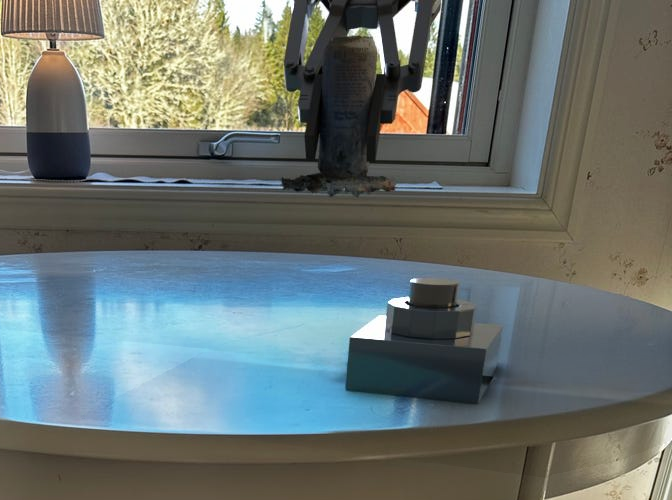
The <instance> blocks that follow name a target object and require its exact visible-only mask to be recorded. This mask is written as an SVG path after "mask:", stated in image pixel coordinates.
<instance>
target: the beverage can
mask: <svg viewBox="0 0 672 500" xmlns="http://www.w3.org/2000/svg"><path fill="white" fill-rule="evenodd" d="M323 60H324V61H323V79H322V98H321V115H320V116H321V117H320V134H319V140H318V156H317V157H318V158H317V169H318V171H319V172H315V173H312V174H311V173H310V174H306V175H302V174H301V175H299V176H296V177H294V178H293V179H291V178H287V177H286V178H284V176H283V177H282V176H281V177H280V182H281V183H280V184H279V185H280V186H282V190H283V191H286V190H287V191H290V190H293V191H294V192H297V193H299V192H304V191H305V190H307V191H308V192H311V193H312V194H314V193H315V194H317V193H318V192H320V191H321V192H323V191H324V192H326V191H327V195H328V197H329V198H333V196H337V195H338V194H340V193H342V192H343V191H344V193H345V194H346V193H348V192H349V193H351V194H352V197H356V198H358V197H360V195H363V194H365V193H366V194H367V195H370V194H372V193H373V192H379V191H381V190H382V191H385V192H388V193H389V192H395V191H396V185H397V182H396V178H395V177H394V178H390V177H387V176H385V175H379V176H378V175H375V176H374V175H367V174H368V172H369V167H370V162H366V161H367V131H368V125H369V119H370V112H371V106H372V99H373V93H374V86H375V80H376V74H377V65H378V63H377V62H378V48H377V45H376V42H375V40H374V36H367V35H363V36H362V35H361V34H357V35H355V34H352V35H347V36H341V37H338V36H336V37H333V38H332V37H331V39H330V40H329V42H328V44H327V46H326V48H325V50H324V59H323Z"/></svg>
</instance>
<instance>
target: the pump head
mask: <svg viewBox="0 0 672 500" xmlns="http://www.w3.org/2000/svg"><path fill="white" fill-rule="evenodd" d="M459 287H460V281H458V280H454V279H449V278H440V277H417V278H413V279H412V278H411V280H410V282H409V289H408V291H409V292H408V297H409V299H408V306H414V307H419V308H433V309H441V308H455V307H456V304H457V300H458V295H459Z"/></svg>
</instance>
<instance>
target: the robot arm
mask: <svg viewBox="0 0 672 500" xmlns="http://www.w3.org/2000/svg"><path fill="white" fill-rule="evenodd" d="M411 2H412V3H413V11H414V12H415V13H416V15H415V21H414V26H413V33H412V37H411V38H412V39H411V43H410V51H409V56H408V57H409V58H408V63H407V64H405V65H402V63H401V61H402V60H401V59H400V57H399V51H398V50H399V49H398V43H397V35H396V28H395V23H394V18H395V16H397V14H399V13H400V12H401V11H402V10H403V9H404V8H405V7H406V6H408V4H410V3H411ZM319 3H321V5H322V6H323V7H324V8H325V10H326V11H327V13H328V14H327V17H326V19H325V21H324V23H323V26H322V28H321V30H320V32H319V34H318V35H317V38H316V41H315V42H314V45H313V47H312V49H311V52H310V54H309V56H308V58H307V60H306V62H305V64H304V59H305V53H306V47H307V40H308V34H309V27H310V26H309V20H310V19H312V18H313V13H314V12H315V11H316V8H317V5H318V4H319ZM290 8H291V10H290V11H291V18H290V23H289V27H288V28H289V29H288V35H287V39H286V46H285V53H284V59H283V74H284V85H285V90H286V91H287V92H289V93H294V92H296V91H299V97H298V102H297V113H298V114H297V115H298V120H299V123H300V124H306V125H305V131H304V137H303V138H304V150H305V161H306V162H315V161H316V157H317V150H318V146H319V137H320V117H321V116H320V115H321V98H322V79H323V61H324V60H323V59H324V50H325V48H326V46H327V44H328V42H329V40H330V39H331V37H332V38H333V37H336V36H338V37H341V36H349V33H350V31H351V30H355V29H360V28H362V29H369V30H375V35H376V36H375V37H376V42H377V45H378V53H379V60H380V66H381V67H380V69H381V73H376V79H375V86H374V93H373V99H372V106H371V112H370V119H369V125H368V131H367V161H366V162H369V163H376V162H377V161H376V160H377V154H378V147H379V141H380V133H381V127H382V125H392V124H393V123H394V121H395V120H396V114H397V107H398V100H399V96H400V94H401V93H403V92H404V91H408V92H410V93H418V92H419V91H420V90H421V88H422V85H423V80H424V79H423V78H424V73H425V65H426V59H427V53H428V47H429V41H430V34H431V28H432V24H433V23H434V22H435V20H436V18H437V17H438V15H439V14H440V12H441V10H442V9H441V8H442V0H290ZM303 64H304V65H303Z"/></svg>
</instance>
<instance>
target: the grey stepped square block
mask: <svg viewBox="0 0 672 500" xmlns="http://www.w3.org/2000/svg"><path fill="white" fill-rule="evenodd" d="M408 299H409V296H405V297H398V298H391V300H389V301H388V302H387V303H386V314H385V315H378V316H377V317H376V318H373V320H372V321H369V323H367V324H366V325H364V326H363V327H362V328H361V329H359V330H358V331H356V332H355V333H353V334H352V335H351V336H350V337H349V339H348V341H349V342H348V351H347V365H346V373H345V374H346V375H345V376H346V377H345V387H344V390H345V391H349V392H356V393H357V392H359V393H367V394H378V395H384V396H385V395H386V396H397V397H404V398H405V397H406V398H415V399H425V400H433V401H443V402H452V403H463V404H470V405H471V404H472V405H479V403H480V401H481V399H482V397H483V396H484V395H485V393H486V391H487V389H488V387H489V385H490V384H491V382H492V381H493V379H494V377H495V376H493V374H494V371H495V370H496V368H497V365H498V359H499V353H500V347H501V340H502V334H503V328H504V326H503V324H495V323H484V322H483V323H482V322H476V315H477V309H478V305H477V304H475V303H473V302H470V301H467V300H462V299H457V304H456V307H455V308H441V309H433V308H419V307H414V306H408Z"/></svg>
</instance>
